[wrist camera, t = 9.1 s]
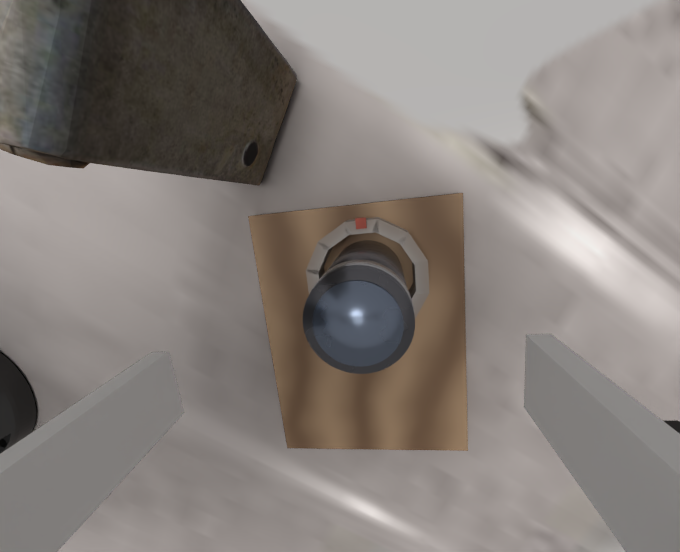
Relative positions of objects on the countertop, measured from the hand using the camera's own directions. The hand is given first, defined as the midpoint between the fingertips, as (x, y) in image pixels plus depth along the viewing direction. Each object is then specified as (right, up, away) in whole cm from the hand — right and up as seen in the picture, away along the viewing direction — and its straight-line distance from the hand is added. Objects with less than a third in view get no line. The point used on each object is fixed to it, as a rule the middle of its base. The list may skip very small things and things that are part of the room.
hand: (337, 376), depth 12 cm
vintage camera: (-12, +19, +16) cm, 27 cm away
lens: (+3, +4, +16) cm, 16 cm away
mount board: (+2, -2, +19) cm, 19 cm away
